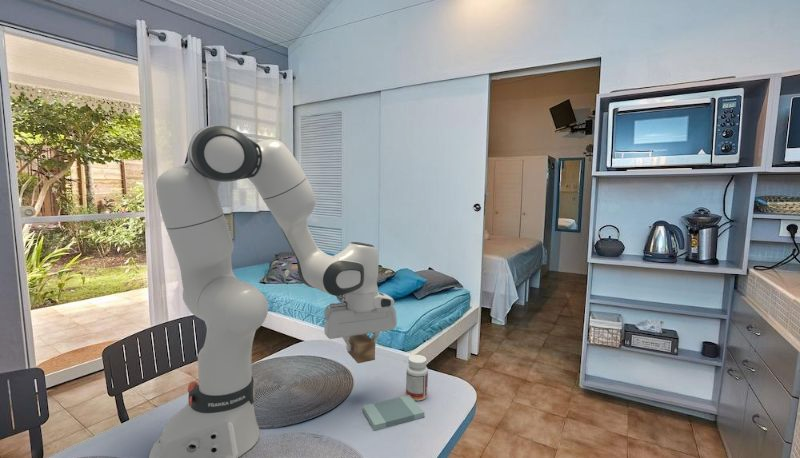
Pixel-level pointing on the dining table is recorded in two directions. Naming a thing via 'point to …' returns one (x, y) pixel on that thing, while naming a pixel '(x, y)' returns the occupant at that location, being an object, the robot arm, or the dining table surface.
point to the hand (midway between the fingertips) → (361, 348)
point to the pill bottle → (417, 377)
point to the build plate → (392, 412)
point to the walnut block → (362, 348)
